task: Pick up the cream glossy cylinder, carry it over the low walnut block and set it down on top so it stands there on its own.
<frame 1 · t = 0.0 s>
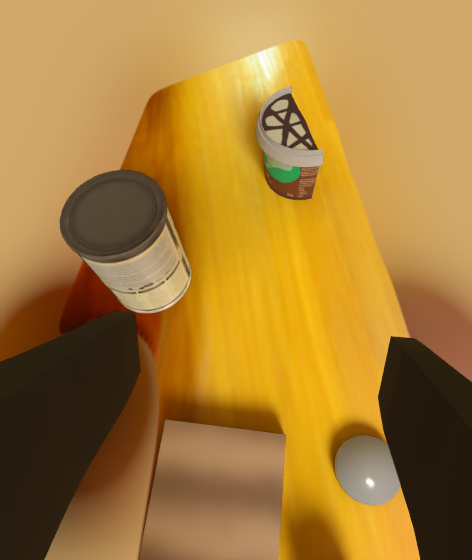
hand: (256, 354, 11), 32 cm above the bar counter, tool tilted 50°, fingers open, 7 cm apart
food container: (279, 179, 55), on the bar counter
coffee can: (152, 277, 49), on the bar counter
walnut block: (219, 494, 38), on the bar counter
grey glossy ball: (364, 468, 38), on the bar counter
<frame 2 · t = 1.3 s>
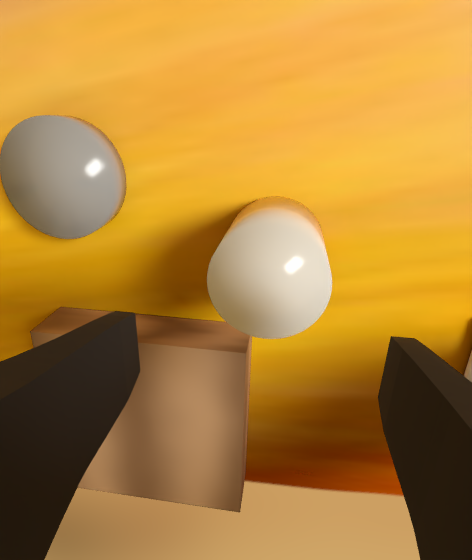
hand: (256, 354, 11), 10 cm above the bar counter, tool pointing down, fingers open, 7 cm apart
cream glossy cylinder: (274, 243, 20), on the bar counter
walnut block: (158, 395, 26), on the bar counter
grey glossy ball: (75, 175, 21), on the bar counter
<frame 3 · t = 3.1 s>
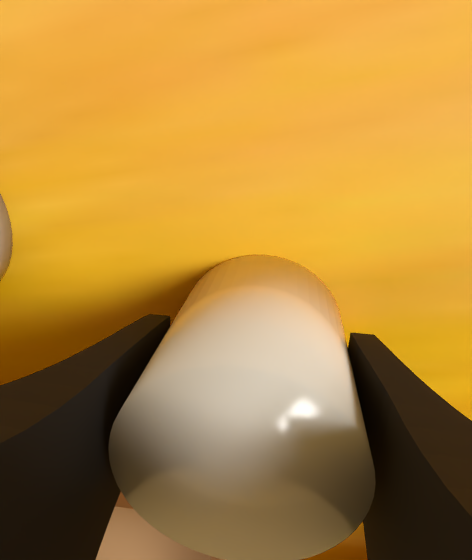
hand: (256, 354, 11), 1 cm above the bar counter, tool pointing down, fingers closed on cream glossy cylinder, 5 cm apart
cream glossy cylinder: (260, 329, 12), on the bar counter, touching gripper
walnut block: (94, 526, 17), on the bar counter
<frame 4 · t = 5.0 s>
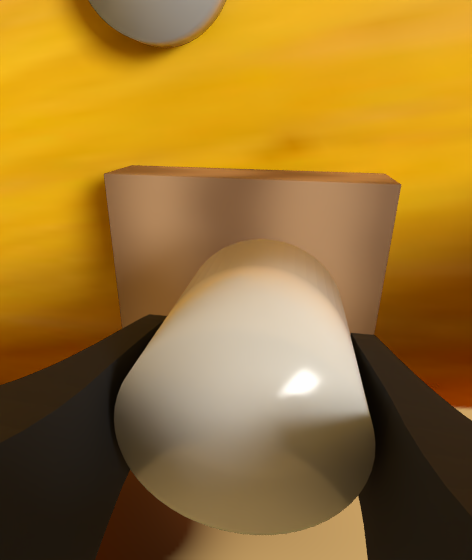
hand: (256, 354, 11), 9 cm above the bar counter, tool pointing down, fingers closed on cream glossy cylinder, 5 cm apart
cream glossy cylinder: (262, 314, 12), point 8 cm above the bar counter, touching gripper
walnut block: (249, 285, 21), on the bar counter
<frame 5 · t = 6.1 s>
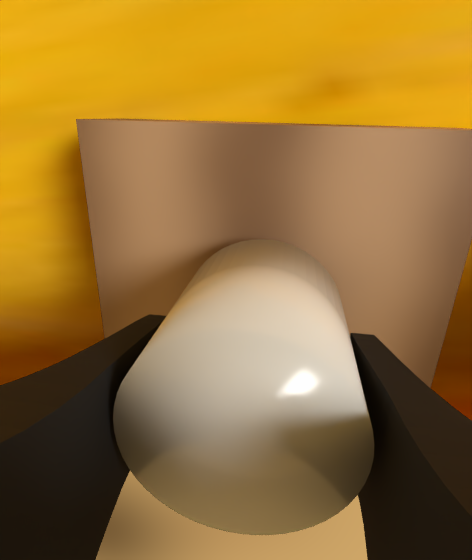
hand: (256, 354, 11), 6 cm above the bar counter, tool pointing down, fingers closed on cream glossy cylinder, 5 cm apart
cream glossy cylinder: (262, 314, 12), point 4 cm above the bar counter, touching gripper
walnut block: (269, 278, 16), on the bar counter
when the fingers open (5 cm above the bar counter, at t = 7.1 s): cream glossy cylinder stays where it is, resting on walnut block.
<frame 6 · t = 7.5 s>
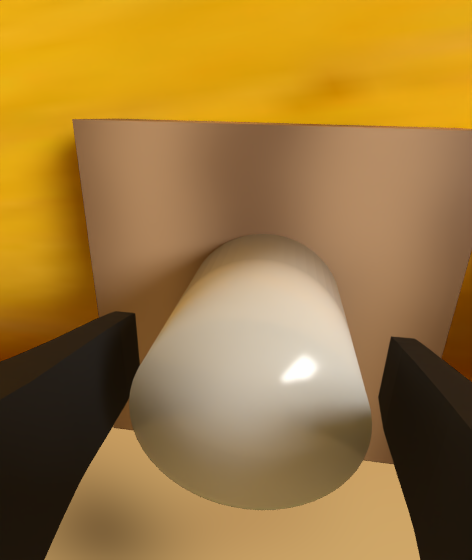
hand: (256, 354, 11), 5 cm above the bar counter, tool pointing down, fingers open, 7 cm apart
cream glossy cylinder: (263, 305, 13), point 3 cm above the bar counter, touching walnut block
walnut block: (268, 280, 16), on the bar counter
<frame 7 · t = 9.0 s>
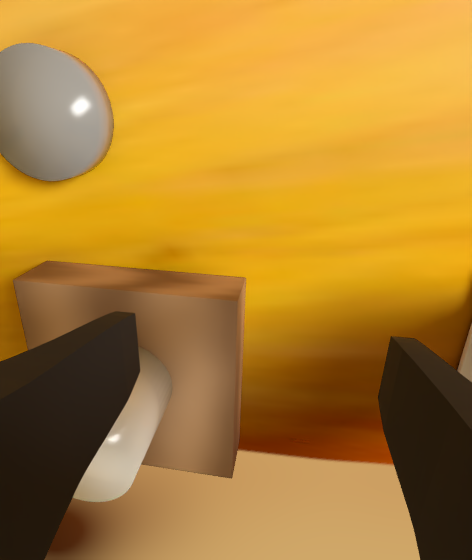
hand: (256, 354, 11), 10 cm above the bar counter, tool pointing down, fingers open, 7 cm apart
cream glossy cylinder: (129, 381, 22), point 3 cm above the bar counter, touching walnut block
walnut block: (149, 356, 25), on the bar counter
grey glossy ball: (60, 116, 20), on the bar counter
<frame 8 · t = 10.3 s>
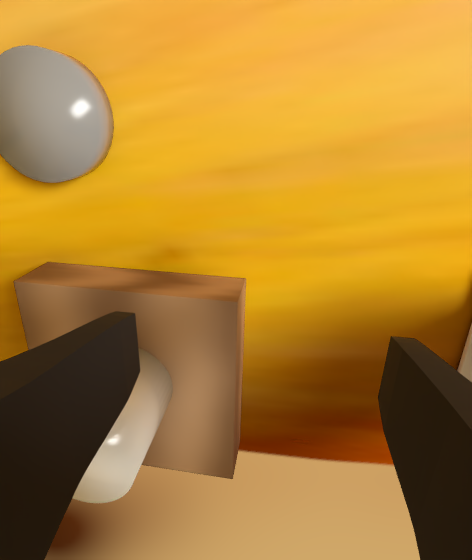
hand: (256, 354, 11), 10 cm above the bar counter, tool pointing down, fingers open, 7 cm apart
cream glossy cylinder: (129, 382, 22), point 3 cm above the bar counter, touching walnut block
walnut block: (149, 357, 25), on the bar counter
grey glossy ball: (60, 118, 20), on the bar counter
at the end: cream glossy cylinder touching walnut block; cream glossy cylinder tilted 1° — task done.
